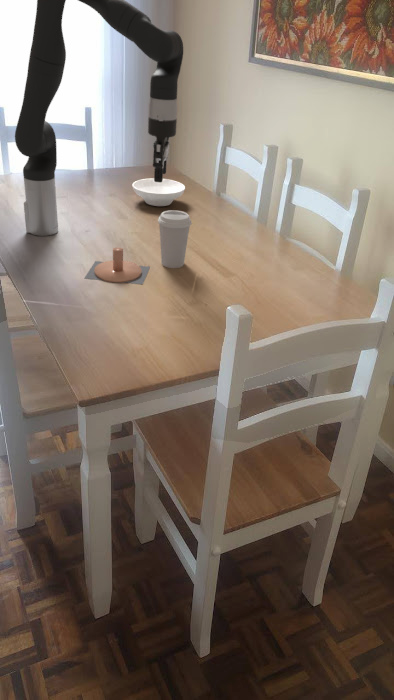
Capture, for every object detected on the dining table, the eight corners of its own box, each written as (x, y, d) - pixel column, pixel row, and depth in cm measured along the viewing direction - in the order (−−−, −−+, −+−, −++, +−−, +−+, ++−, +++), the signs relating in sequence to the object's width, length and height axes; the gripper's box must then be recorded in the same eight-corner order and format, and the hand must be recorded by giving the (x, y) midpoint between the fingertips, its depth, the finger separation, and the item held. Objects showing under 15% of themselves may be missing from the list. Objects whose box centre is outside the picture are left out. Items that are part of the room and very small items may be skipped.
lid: (89, 279, 154) (88, 256, 151) (100, 260, 165) (100, 238, 162) (136, 284, 154) (137, 261, 150) (145, 265, 165) (145, 243, 161)
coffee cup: (193, 261, 170) (196, 212, 162) (182, 273, 162) (185, 223, 155) (163, 255, 173) (165, 207, 165) (151, 267, 165) (152, 217, 157)
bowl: (194, 203, 218) (195, 185, 214) (164, 216, 204) (165, 197, 200) (152, 192, 226) (153, 175, 223) (121, 203, 212) (121, 185, 208)
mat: (84, 279, 155) (84, 278, 155) (95, 262, 165) (95, 261, 165) (142, 285, 154) (142, 284, 154) (150, 267, 164) (150, 266, 164)
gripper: (152, 110, 158) (150, 169, 167) (144, 119, 146) (143, 183, 154) (179, 112, 158) (176, 172, 166) (173, 122, 146) (170, 186, 154)
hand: (160, 177), depth 160 cm, fingers open, 8 cm apart
